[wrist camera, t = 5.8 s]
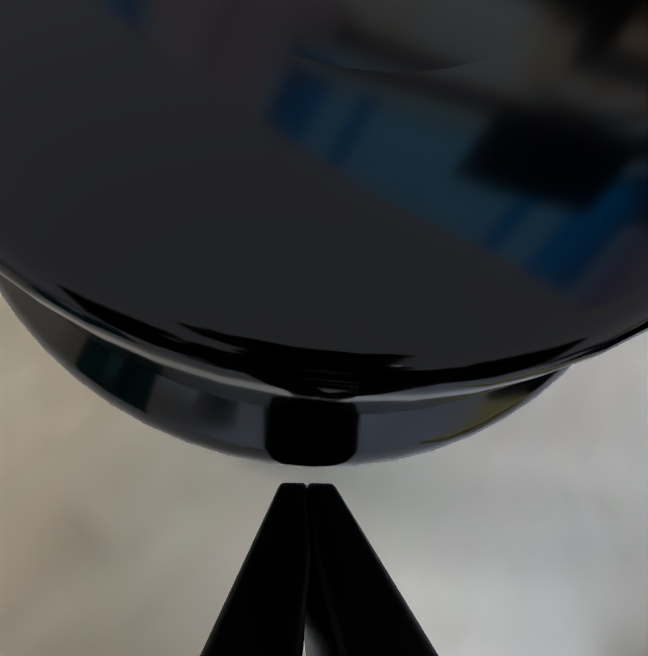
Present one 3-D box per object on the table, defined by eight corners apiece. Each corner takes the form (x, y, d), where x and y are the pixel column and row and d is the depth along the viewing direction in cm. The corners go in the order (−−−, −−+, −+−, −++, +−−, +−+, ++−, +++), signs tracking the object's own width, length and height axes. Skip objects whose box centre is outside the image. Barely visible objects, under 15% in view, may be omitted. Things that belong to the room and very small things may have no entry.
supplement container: (524, 283, 17) (1058, -84, 6) (304, 547, 15) (468, 871, 3) (284, 77, 18) (324, -601, 7) (35, 291, 15) (-641, -224, 4)
